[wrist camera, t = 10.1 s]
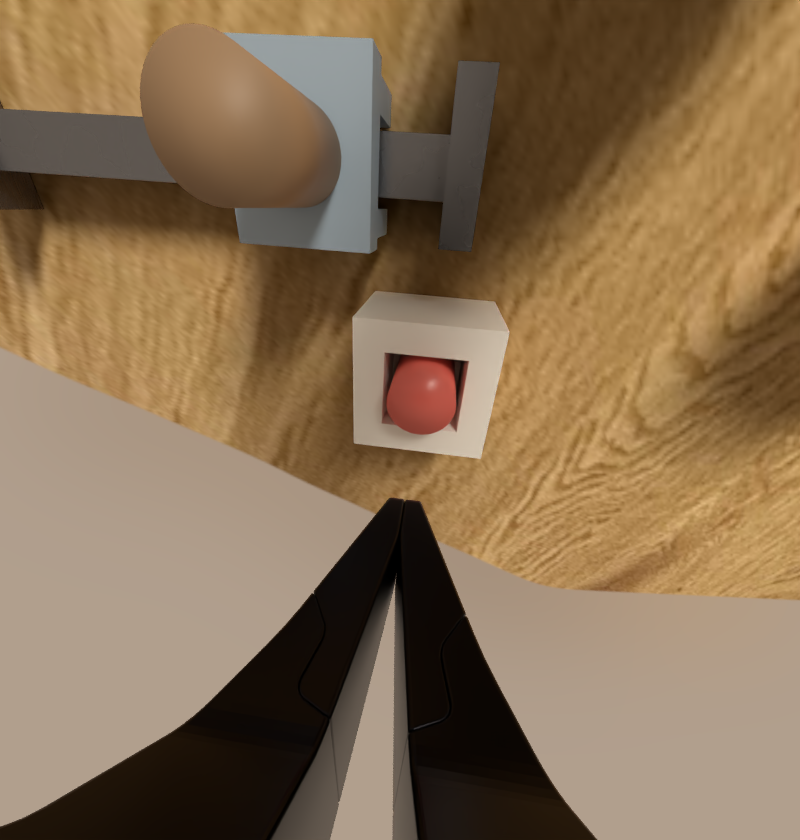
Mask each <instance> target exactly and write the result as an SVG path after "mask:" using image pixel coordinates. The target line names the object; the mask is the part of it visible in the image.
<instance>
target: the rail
mask: <svg viewBox="0 0 800 840" xmlns="http://www.w3.org/2000/svg"><path fill="white" fill-rule="evenodd" d="M499 65H500V62H480V61H458V70H457V79H456V89H455V98H454V107H453V117H452V126H451V135H445V134H428V133H411V132H393V131H380V143H379V184H378V198H389V199H403V200H417V201H432V202H443V210H442V220H441V229H440V238H439V248H438V249H442V250H454V251H467V252H471V249H472V243H473V236H474V230H475V223H476V217H477V210H478V203H479V197H480V190H481V184H482V177H483V171H484V164H485V157H486V151H487V144H488V138H489V131H490V125H491V118H492V111H493V105H494V98H495V92H496V85H497V78H498V72H499ZM29 173H38V174H52V175H66V176H80V177H94V178H108V179H122V180H136V181H150V182H164V183H177V182H176V181H175V180H174V179H173V178H172V176H171V175H170V174H169V173H168V171H167V170H166V169H165V167H164V166H163V164H162V163H161V161H160V159H159V158H158V156H157V154H156V152H155V150H154V148H153V146H152V144H151V141H150V139H149V136H148V134H147V130H146V127H145V123H144V119H143V117H134V116H116V115H99V114H82V113H64V112H47V111H30V110H12V109H3V108H2V105H1V103H0V209H43V207H42V204H41V202H40V199H39V197H38V194H37V192H36V189H35V187H34V184H33V182H32V180H31V177H30V175H29Z"/></svg>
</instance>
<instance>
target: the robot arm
mask: <svg viewBox="0 0 800 840" xmlns="http://www.w3.org/2000/svg"><path fill="white" fill-rule="evenodd" d="M395 579H396V584H395ZM394 585H395V654H394V655H395V656H394V657H395V658H394V755H393V756H394V757H393V758H394V759H393V763H394V764H393V840H597V839H596V838H595V837H594V835H593V834H592V833H591V832H590V831H589V829H588V828H587V827H586V826H585V825H584V823H583V822H582V821H581V820H580V819H579V817H578V816H577V815H576V814H575V813H574V812H573V811H572V809H571V808H570V807H569V805H568V804H567V803H566V802H565V800H564V799H563V798H562V796H561V795H560V794H559V792H558V791H557V789H556V788H555V786H554V785H553V783H552V782H551V780H550V779H549V777H548V776H547V774H546V772H545V771H544V769H543V767H542V765H541V764H540V762H539V760H538V758H537V757H536V755H535V753H534V751H533V749H532V747H531V745H530V743H529V742H528V740H527V738H526V736H525V734H524V732H523V730H522V728H521V727H520V725H519V723H518V721H517V719H516V717H515V715H514V714H513V712H512V710H511V708H510V706H509V704H508V702H507V701H506V699H505V697H504V695H503V693H502V691H501V689H500V687H499V685H498V684H497V682H496V680H495V678H494V676H493V674H492V672H491V670H490V668H489V666H488V664H487V662H486V660H485V658H484V655H483V653H482V651H481V649H480V646H479V644H478V642H477V639H476V637H475V635H474V632H473V630H472V627H471V625H470V623H469V620H468V618H467V617H466V616H465V615H466V614H465V611H464V608H463V606H462V603H461V601H460V598H459V596H458V593H457V591H456V588H455V586H454V583H453V581H452V578H451V576H450V573H449V571H448V568H447V566H446V563H445V561H444V559H443V556H442V553H441V551H440V548H439V546H438V543H437V541H436V538H435V536H434V533H433V531H432V528H431V526H430V523H429V521H428V518H427V516H426V513H425V511H424V508H423V506H422V504H421V502H420V501H414V500H406V501H404V500H403V499H398V498H389V499H388V500H387V501H386V503H385V504H384V505H383V506H382V508H381V509H380V510H379V511H378V512H377V514H376V515H375V516H374V517H373V519H372V520H371V521H370V522H369V524H368V525H367V526H366V527H365V529H364V530H363V531H362V532H361V534H360V535H359V536H358V537H357V538H356V540H355V541H354V542H353V543H352V545H351V546H350V547H349V548H348V550H347V551H346V552H345V553H344V555H343V556H342V557H341V558H340V560H339V561H338V562H337V563H336V564H335V566H334V567H333V568H332V569H331V571H330V572H329V573H328V574H327V576H326V577H325V578H324V579H323V580H322V582H321V583H320V584H319V585H318V587H317V588H316V589H315V590H314V594H311V595H310V596H309V598H308V599H307V600H306V601H305V602H304V604H303V605H302V606H301V608H300V609H299V610H298V611H297V612H296V613H295V614H294V615H293V617H292V618H291V619H290V620H289V621H288V623H287V624H286V625H285V626H284V627H283V628H282V629H281V630H280V631H279V632H278V633H277V634H276V635H275V636H274V637H273V639H272V640H271V641H270V642H269V643H268V644H267V645H266V646H265V647H264V648H263V649H262V650H261V651H260V652H259V653H258V654H257V655H256V656H255V657H254V658H253V659H252V660H251V661H250V662H249V663H248V664H247V665H246V666H245V667H244V668H243V669H242V670H241V671H240V672H239V673H238V674H237V675H236V676H235V677H234V678H233V679H232V680H231V681H230V682H229V683H228V684H227V685H226V686H225V687H224V688H223V689H222V690H221V691H220V692H219V693H218V694H217V695H216V696H215V697H214V698H213V699H212V700H211V701H210V702H209V703H208V704H206V705H205V707H204V708H202V709H201V710H200V711H199V712H198V713H196V714H195V715H194V716H193V717H192V718H190V719H189V720H188V721H186V722H185V723H184V724H183V725H181V726H180V727H178V728H177V729H175V730H174V731H172V732H171V733H169V734H168V735H166V736H164V737H163V738H161V739H159V740H158V741H156V742H154V743H153V744H151V745H149V746H147V747H146V748H144V749H142V750H141V751H139V752H137V753H135V754H134V755H132V756H130V757H129V758H127V759H125V760H123V761H122V762H120V763H118V764H117V765H115V766H113V767H112V768H110V769H108V770H107V771H105V772H103V773H101V774H100V775H98V776H96V777H95V778H93V779H91V780H89V781H88V782H86V783H84V784H83V785H81V786H79V787H78V788H76V789H74V790H72V791H71V792H69V793H67V794H66V795H64V796H62V797H61V798H59V799H57V800H56V801H54V802H52V803H50V804H49V805H47V806H45V807H43V808H41V809H40V810H38V811H36V812H34V813H32V814H30V815H28V816H26V817H24V818H22V819H19V820H17V821H14V822H12V823H9V824H7V825H4V826H1V827H0V840H330V837H331V833H332V829H333V825H334V821H335V817H336V814H337V810H338V805H339V804H338V802H339V801H340V797H341V794H342V790H343V786H344V782H345V778H346V774H347V770H348V766H349V762H350V758H351V754H352V751H353V746H354V743H355V739H356V735H357V731H358V727H359V723H360V719H361V715H362V711H363V707H364V703H365V699H366V696H367V692H368V688H369V684H370V679H371V676H372V672H373V668H374V664H375V660H376V656H377V652H378V648H379V644H380V641H381V637H382V633H383V629H384V625H385V621H386V617H387V613H388V609H389V605H390V601H391V598H392V594H393V589H394Z"/></svg>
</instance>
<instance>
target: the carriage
mask: <svg viewBox="0 0 800 840" xmlns="http://www.w3.org/2000/svg"><path fill="white" fill-rule="evenodd" d="M381 60H382V57H381V55H380V53H379V51H378V48H377V46H376V44H375V42H374V40H373V39H372V38H346V37H321V36H296V35H271V34H245V33H222V32H220V31H218V30H216V29H214V28H212V27H209V26H205V25H201V24H194V23H191V24H182V25H178V26H174V27H173V28H171V29H169V30H167V31H165V32H164V33H163V34H162V35H161V36H159V37H158V39H157V40H156V41H155V42H154V43H153V45H152V47H151V48H150V50H149V52H148V54H147V56H146V59H145V62H144V65H143V69H142V74H141V83H140V100H141V109H142V114H143V119H144V123H145V127H146V130H147V134H148V136H149V139H150V141H151V144H152V146H153V148H154V150H155V152H156V154H157V156H158V158H159V159H160V161H161V163H162V164H163V166H164V167H165V169H166V170H167V171H168V173H169V174H170V175H171V176H172V178H173V179H174V180H175V181H176V182H177V183H178V184H179V185H180V186H181V187H182V188H183V189H184V190H185V191H187V192H188V193H189V194H191V195H192V196H194V197H195V198H197V199H198V200H200V201H202V202H204V203H207V204H209V205H212V206H215V207H221V208H235V215H236V221H237V227H238V233H239V240H240V243H247V244H259V245H271V246H284V247H296V248H308V249H320V250H332V251H344V252H356V253H369V254H370V253H372V252H373V251H375V250H377V238H379V237H381V236H384V235H386V234H387V209H382V208H378V184H379V143H380V128H390V127H391V100H392V95H391V93H390V91H389V89H388V87H387V85H386V83H385V81H384V79H383V77H382V75H381Z"/></svg>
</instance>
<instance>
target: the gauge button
mask: <svg viewBox="0 0 800 840" xmlns="http://www.w3.org/2000/svg"><path fill="white" fill-rule="evenodd" d="M386 405H387V410H388V414H389V416H390V417H391V419H392V420H393V422H394V423H395V424H396V425H397V426H398V427H400V428H401V429H403V430H405V431H407V432H410V433H413V434H419V435H426V434H432V433H435V432H438V431H440V430H442V429H443V428H444V427H446V426H447V425H448V424H449V423H450V422H451V420H452V418H453V417H454V414H455V411H456V388H455V363H454V359H444V358H435V357H425V356H415V355H405V354H401V356H400V358H399V361H398V365H397V368H396V371H395V374H394V377H393V380H392V383H391V386H390V389H389V392H388V396H387V401H386Z"/></svg>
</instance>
